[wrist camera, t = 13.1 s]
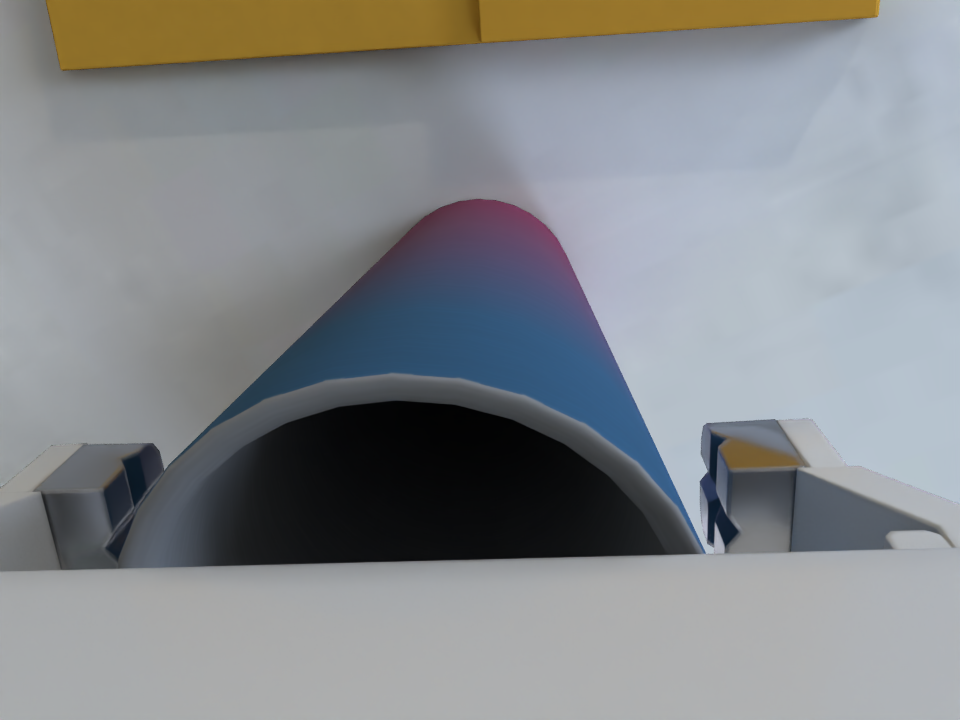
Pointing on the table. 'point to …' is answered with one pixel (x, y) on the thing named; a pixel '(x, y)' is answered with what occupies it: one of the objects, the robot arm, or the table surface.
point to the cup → (428, 424)
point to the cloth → (382, 24)
